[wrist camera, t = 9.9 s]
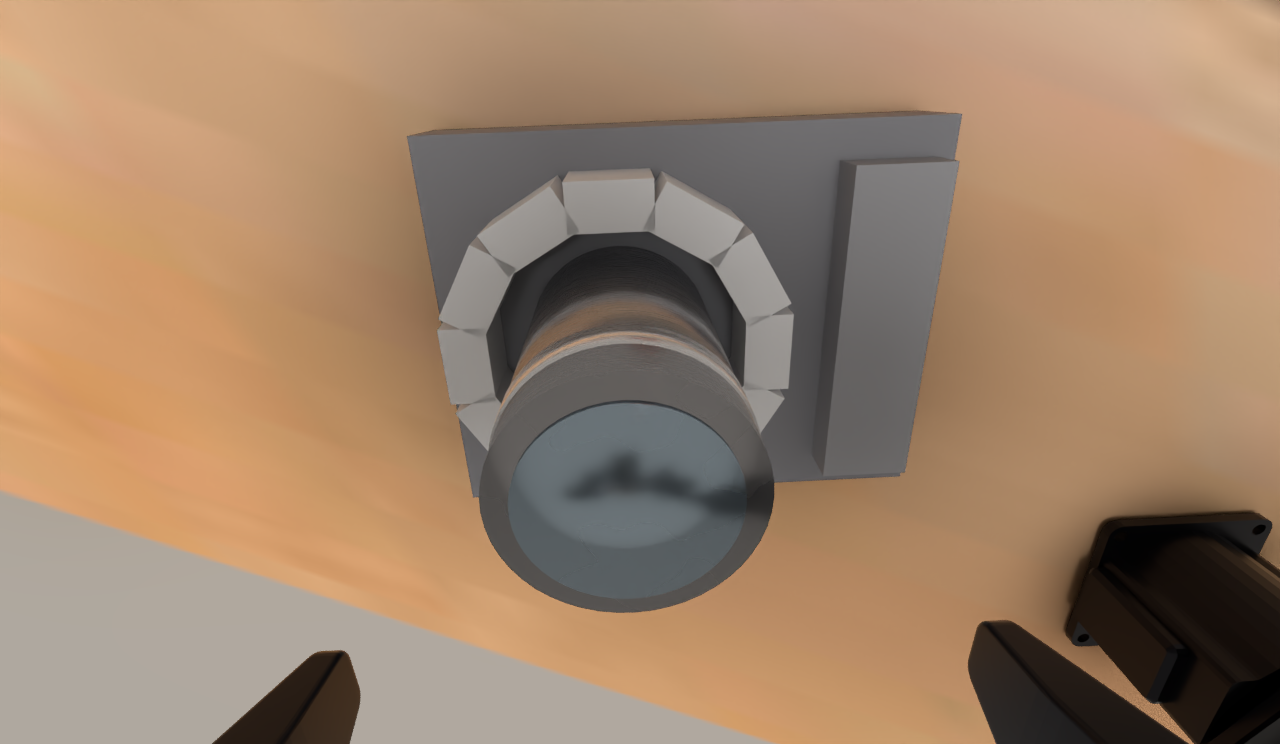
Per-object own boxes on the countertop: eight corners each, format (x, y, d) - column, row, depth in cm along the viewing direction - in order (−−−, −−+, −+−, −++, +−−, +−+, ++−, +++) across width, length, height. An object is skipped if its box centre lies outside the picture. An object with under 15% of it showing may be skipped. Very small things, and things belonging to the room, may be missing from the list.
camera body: (918, 110, 18) (1008, 117, 14) (871, 436, 22) (927, 514, 18) (434, 130, 18) (378, 142, 13) (488, 455, 22) (458, 538, 18)
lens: (710, 239, 17) (789, 363, 9) (708, 405, 19) (771, 612, 11) (521, 248, 16) (448, 381, 9) (542, 414, 19) (497, 629, 11)
